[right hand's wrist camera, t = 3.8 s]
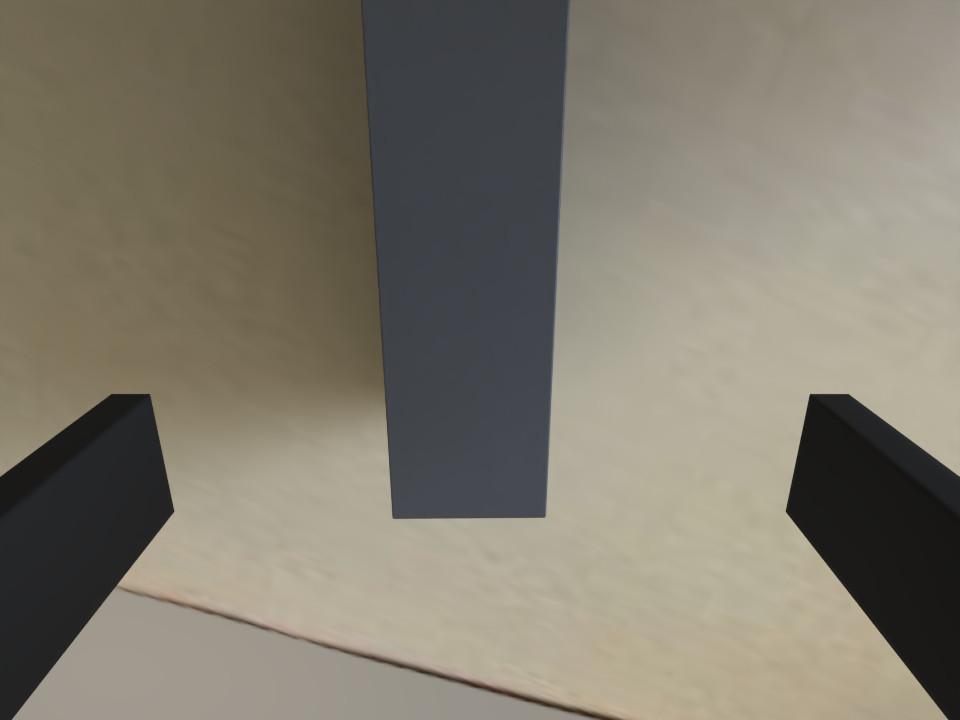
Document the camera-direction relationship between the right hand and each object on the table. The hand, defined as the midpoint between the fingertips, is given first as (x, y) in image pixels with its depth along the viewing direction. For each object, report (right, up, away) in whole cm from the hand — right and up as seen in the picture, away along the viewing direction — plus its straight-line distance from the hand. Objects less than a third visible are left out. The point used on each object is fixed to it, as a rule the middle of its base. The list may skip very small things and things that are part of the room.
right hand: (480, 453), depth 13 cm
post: (0, +29, +2) cm, 29 cm away
